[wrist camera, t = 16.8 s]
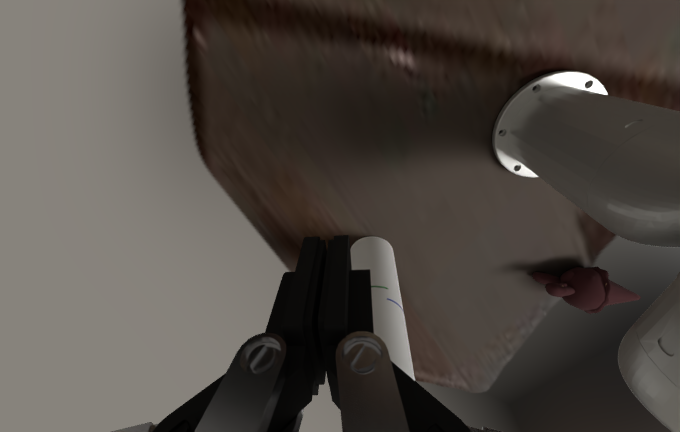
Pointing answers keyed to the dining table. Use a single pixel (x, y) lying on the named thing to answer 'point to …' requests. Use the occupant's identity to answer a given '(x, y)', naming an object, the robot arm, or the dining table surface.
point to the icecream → (585, 288)
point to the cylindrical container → (384, 297)
